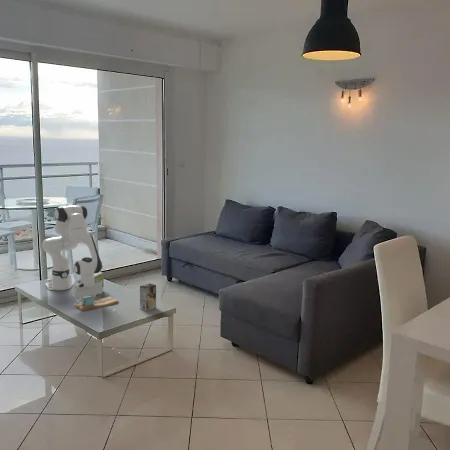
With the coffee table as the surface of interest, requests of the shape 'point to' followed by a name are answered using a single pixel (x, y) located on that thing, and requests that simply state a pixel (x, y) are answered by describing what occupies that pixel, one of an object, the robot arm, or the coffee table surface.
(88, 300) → the block
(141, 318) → the coffee table surface
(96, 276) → the tea box
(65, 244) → the robot arm
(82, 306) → the board
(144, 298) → the coffee box
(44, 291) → the coffee table surface
